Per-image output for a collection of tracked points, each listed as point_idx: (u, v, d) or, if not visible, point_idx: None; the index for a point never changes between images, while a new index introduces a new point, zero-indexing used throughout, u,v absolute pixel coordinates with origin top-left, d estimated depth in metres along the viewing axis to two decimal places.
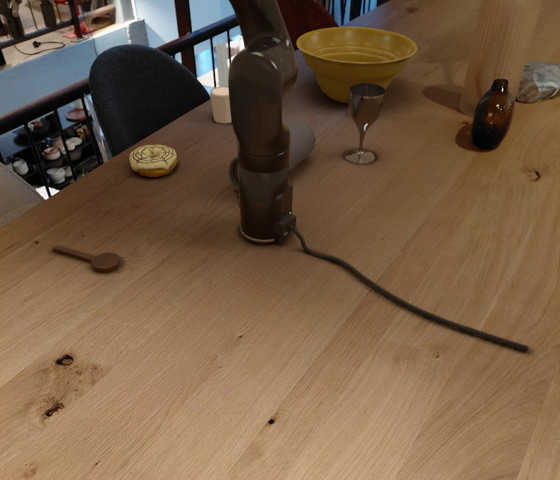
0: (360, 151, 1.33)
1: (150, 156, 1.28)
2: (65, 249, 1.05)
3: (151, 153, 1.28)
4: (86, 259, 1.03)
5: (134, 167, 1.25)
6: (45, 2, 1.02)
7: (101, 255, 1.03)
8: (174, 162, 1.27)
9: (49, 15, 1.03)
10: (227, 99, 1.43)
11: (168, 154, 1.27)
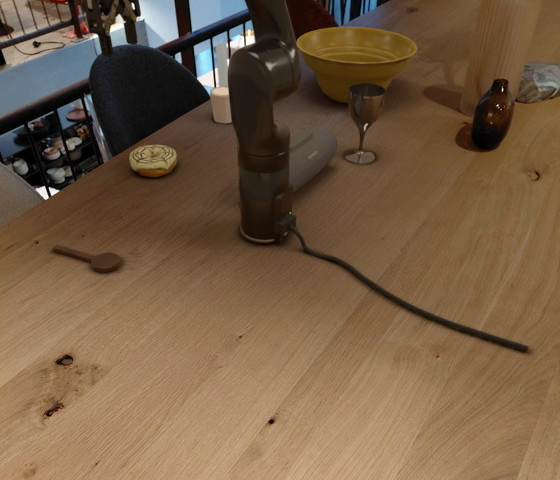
0: (360, 151, 1.33)
1: (150, 156, 1.28)
2: (65, 249, 1.05)
3: (151, 153, 1.28)
4: (86, 259, 1.03)
5: (134, 167, 1.25)
6: (129, 21, 1.14)
7: (101, 255, 1.03)
8: (174, 162, 1.27)
9: (131, 33, 1.15)
10: (227, 99, 1.43)
11: (168, 154, 1.27)
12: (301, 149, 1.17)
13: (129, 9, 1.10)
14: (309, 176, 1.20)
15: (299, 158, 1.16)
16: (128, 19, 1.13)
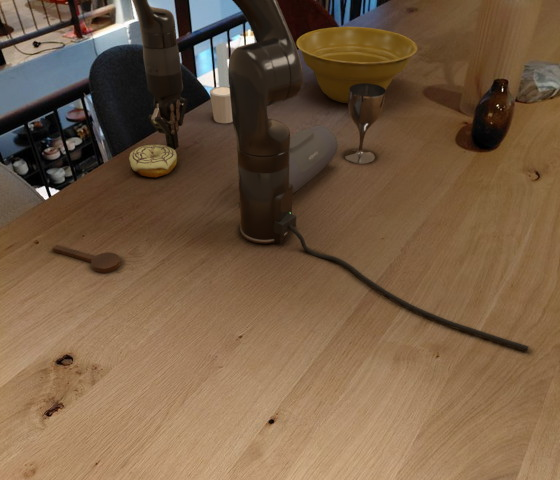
0: (360, 151, 1.33)
1: (150, 156, 1.28)
2: (65, 249, 1.05)
3: (151, 153, 1.28)
4: (86, 259, 1.03)
5: (134, 167, 1.25)
6: None
7: (101, 255, 1.03)
8: (174, 162, 1.27)
9: None
10: (227, 99, 1.43)
11: (168, 154, 1.27)
12: (302, 149, 1.17)
13: (177, 116, 1.27)
14: (309, 176, 1.20)
15: (299, 159, 1.16)
16: None
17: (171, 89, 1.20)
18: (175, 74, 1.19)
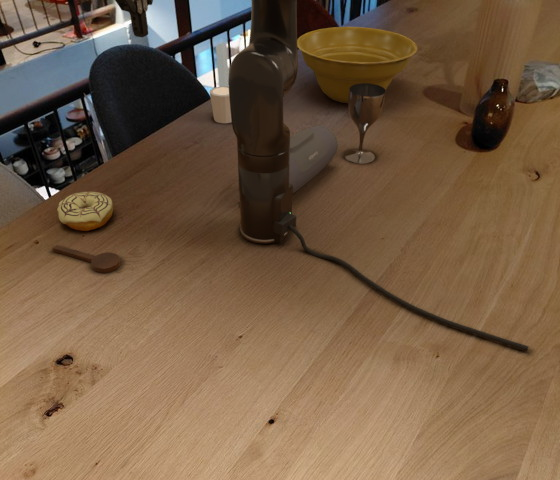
0: (360, 151, 1.33)
1: (82, 206, 1.13)
2: (65, 249, 1.05)
3: (83, 202, 1.13)
4: (86, 259, 1.03)
5: (62, 220, 1.10)
6: None
7: (101, 255, 1.03)
8: (109, 213, 1.11)
9: None
10: (227, 99, 1.43)
11: (101, 204, 1.11)
12: (302, 149, 1.17)
13: None
14: (309, 176, 1.20)
15: (299, 159, 1.16)
16: None
17: None
18: None
